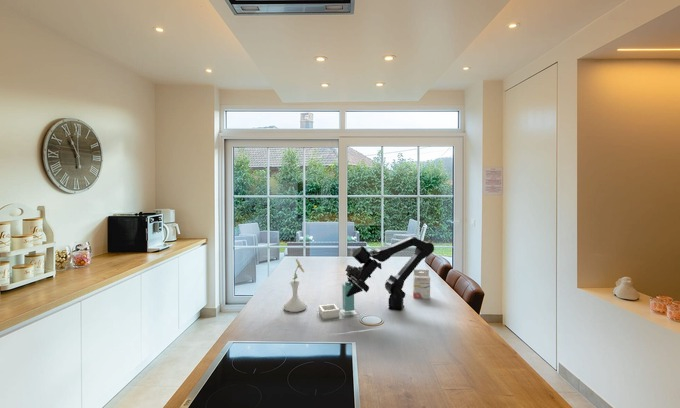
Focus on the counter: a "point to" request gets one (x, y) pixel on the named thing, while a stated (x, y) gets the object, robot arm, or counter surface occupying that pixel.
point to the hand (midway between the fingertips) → (345, 294)
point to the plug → (347, 301)
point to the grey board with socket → (335, 313)
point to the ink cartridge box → (421, 284)
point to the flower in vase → (295, 296)
